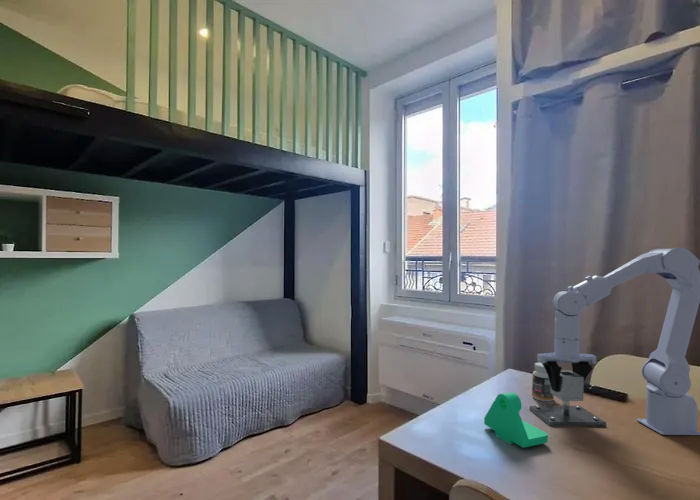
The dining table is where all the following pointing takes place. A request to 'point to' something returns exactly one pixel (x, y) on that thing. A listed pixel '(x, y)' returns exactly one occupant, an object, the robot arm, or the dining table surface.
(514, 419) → the camera mount
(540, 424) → the dining table surface
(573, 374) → the grey square socket
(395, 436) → the dining table surface
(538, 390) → the pill bottle
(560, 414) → the dark grey mounting plate
